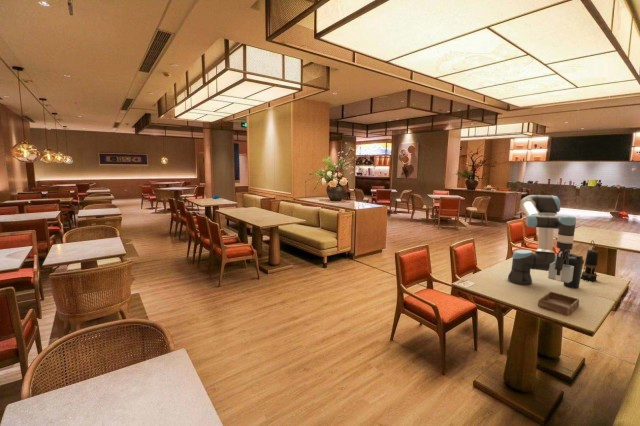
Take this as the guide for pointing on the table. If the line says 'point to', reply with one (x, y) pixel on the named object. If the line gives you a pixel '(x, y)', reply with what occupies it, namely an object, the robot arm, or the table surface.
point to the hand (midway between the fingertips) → (560, 278)
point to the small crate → (566, 272)
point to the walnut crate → (558, 303)
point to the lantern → (590, 265)
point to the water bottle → (575, 270)
